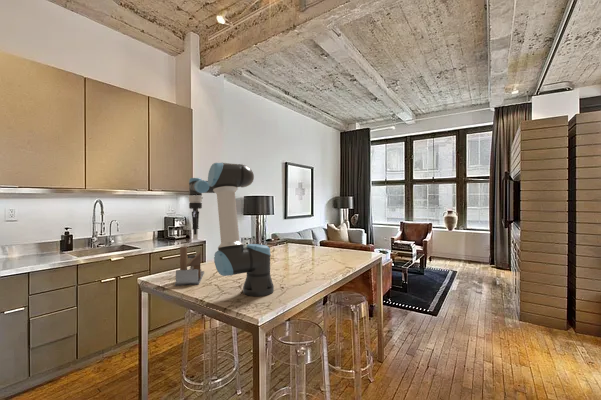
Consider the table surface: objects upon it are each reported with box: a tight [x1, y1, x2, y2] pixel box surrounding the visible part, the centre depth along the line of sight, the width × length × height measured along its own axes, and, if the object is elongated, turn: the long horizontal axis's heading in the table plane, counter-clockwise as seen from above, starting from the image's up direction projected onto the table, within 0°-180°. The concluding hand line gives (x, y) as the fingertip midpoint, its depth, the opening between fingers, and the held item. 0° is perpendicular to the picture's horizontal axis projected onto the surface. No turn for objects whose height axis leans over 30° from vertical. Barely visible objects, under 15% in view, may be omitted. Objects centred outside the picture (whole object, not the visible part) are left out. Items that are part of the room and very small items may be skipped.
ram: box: [187, 254, 197, 269], centre depth 168 cm, size 5×6×10 cm
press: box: [174, 268, 205, 287], centre depth 160 cm, size 24×12×8 cm, turn 12°
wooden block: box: [179, 245, 202, 278], centre depth 157 cm, size 4×11×18 cm, turn 114°
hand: (195, 239), depth 179 cm, fingers closed
